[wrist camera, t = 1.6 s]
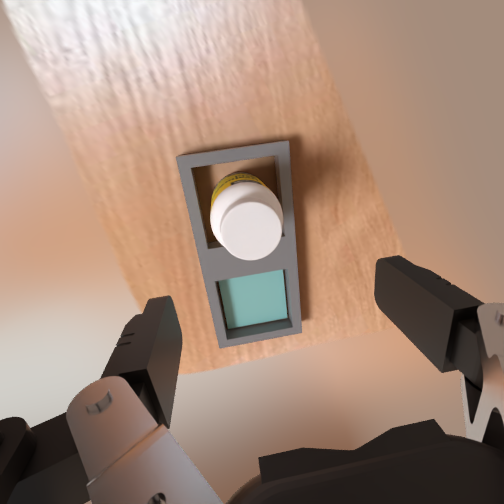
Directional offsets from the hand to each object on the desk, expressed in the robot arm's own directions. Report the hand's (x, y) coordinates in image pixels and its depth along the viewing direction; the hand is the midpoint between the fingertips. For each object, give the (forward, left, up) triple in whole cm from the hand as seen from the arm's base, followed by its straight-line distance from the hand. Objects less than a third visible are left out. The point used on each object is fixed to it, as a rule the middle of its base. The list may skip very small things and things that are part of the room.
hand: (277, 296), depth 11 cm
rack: (+5, 0, -17) cm, 18 cm away
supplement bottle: (0, 0, -18) cm, 18 cm away
